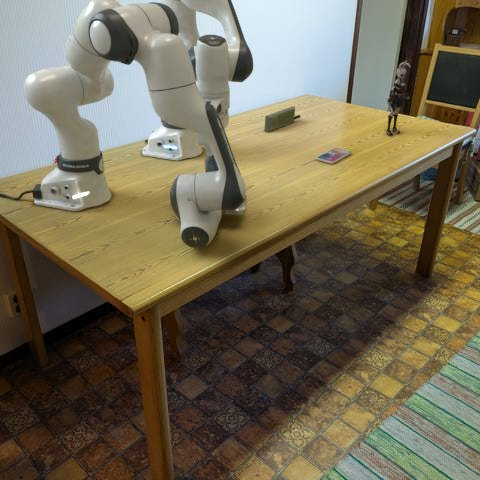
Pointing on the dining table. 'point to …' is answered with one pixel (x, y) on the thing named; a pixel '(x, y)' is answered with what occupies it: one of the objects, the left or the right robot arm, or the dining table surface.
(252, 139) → the dining table surface
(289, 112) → the handheld radio
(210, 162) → the bottle
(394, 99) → the figurine
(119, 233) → the dining table surface
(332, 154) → the smartphone
